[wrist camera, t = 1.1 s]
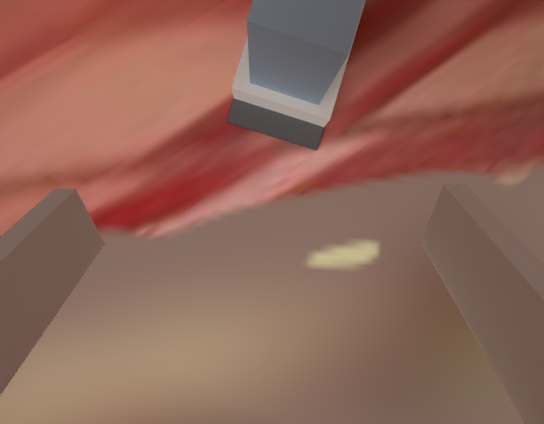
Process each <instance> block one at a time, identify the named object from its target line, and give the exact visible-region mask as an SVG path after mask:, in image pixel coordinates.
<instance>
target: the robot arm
mask: <svg viewBox="0 0 544 424" xmlns="http://www.w3.org/2000/svg"><path fill="white" fill-rule="evenodd" d="M104 244H105V243H104V242H103V240H102V238H101V236H100V234H99V232H98V230H97V228H96V226H95V225H94V223H93V221H92V219H91V217H90V215H89V213H88V211H87V209H86V207H85V206H84V204H83V202H82V200H81V198H80V196H79V194H78V192H77V190H76V189H54V190H53V191H52V192H51V193H50V194H49V195H47V196H46V197H45V198H44V199H43V200H42V201H41V202H39V203H38V204H37V205H36V206H35V207H34V208H33V209H31V210H30V211H29V212H28V213H27V214H26V215H25V216H24V217H22V218H21V219H20V220H19V221H18V222H17V223H16V224H14V225H13V226H12V227H11V228H10V229H9V230H8V231H6V232H5V233H4V234H3V235H2V236H1V237H0V395H1V394H2V392H3V391H4V389H5V388H6V386H7V385H8V383H9V382H10V381H11V379H12V378H13V376H14V375H15V373H16V372H17V371H18V369H19V368H20V366H21V365H22V363H23V362H24V360H25V359H26V357H27V356H28V355H29V353H30V351H31V350H32V349H33V347H34V346H35V344H36V343H37V341H38V340H39V338H40V337H41V336H42V334H43V333H44V331H45V330H46V328H47V326H48V325H49V324H50V323H51V321H52V320H53V318H54V317H55V315H56V314H57V312H58V311H59V309H60V308H61V306H62V305H63V304H64V302H65V301H66V299H67V298H68V296H69V295H70V293H71V292H72V290H73V289H74V288H75V286H76V285H77V283H78V282H79V280H80V279H81V278H82V276H83V275H84V273H85V272H86V270H87V268H88V267H89V265H90V264H91V263H92V261H93V260H94V258H95V257H96V255H97V254H98V253H99V251H100V250H101V248H102V247H103V246H104ZM421 244H422V246H423V248H424V249H425V251H426V253H427V255H428V256H429V258H430V260H431V261H432V263H433V265H434V267H435V268H436V270H437V272H438V274H439V275H440V277H441V279H442V281H443V282H444V284H445V286H446V287H447V289H448V291H449V293H450V295H451V296H452V298H453V300H454V301H455V303H456V305H457V307H458V308H459V310H460V312H461V314H462V315H463V317H464V319H465V321H466V322H467V324H468V326H469V328H470V329H471V331H472V332H473V334H474V336H475V338H476V340H477V341H478V343H479V345H480V347H481V348H482V350H483V352H484V354H485V355H486V357H487V359H488V361H489V362H490V364H491V366H492V367H493V369H494V371H495V373H496V374H497V376H498V378H499V380H500V381H501V383H502V385H503V387H504V388H505V390H506V392H507V393H508V395H509V397H510V399H511V401H512V402H513V404H514V406H515V408H516V409H517V411H518V413H519V414H520V416H521V418H522V420H523V421H524V423H525V424H544V263H543V262H542V261H541V260H540V259H539V258H538V257H537V256H536V255H535V254H534V253H533V252H532V251H531V250H530V249H529V248H528V247H527V246H526V245H525V244H524V243H523V242H522V241H521V240H520V239H519V238H518V237H517V236H516V235H515V234H514V233H513V232H512V231H511V230H510V229H509V228H508V227H507V226H506V225H505V224H504V223H503V222H502V221H501V220H500V219H499V218H498V217H497V216H496V215H495V214H494V213H493V212H492V211H491V210H490V209H489V207H487V205H485V204H484V203H483V201H482V200H480V198H479V197H478V196H477V195H476V194H475V193H474V192H473V191H472V190H471V189H470V188H469V187H468V186H467V185H443V188H442V190H441V193H440V195H439V198H438V200H437V203H436V205H435V207H434V210H433V212H432V215H431V217H430V220H429V222H428V225H427V227H426V229H425V232H424V234H423V237H422V239H421Z"/></svg>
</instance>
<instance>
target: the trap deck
mask: <svg viewBox="0 0 544 424" xmlns="http://www.w3.org/2000/svg"><path fill="white" fill-rule="evenodd" d="M365 1H366V0H365ZM364 5H365V2H364ZM364 5H363V8H364ZM363 8H362V11H363ZM361 15H362V12H361ZM361 15H360V18H361ZM360 18H359V21H360ZM358 25H359V22H358ZM358 25H357V28H358ZM357 28H356V31H357ZM355 35H356V32H355ZM355 35H354V38H355ZM354 38H353V41H354ZM352 45H353V42H352ZM352 45H351V48H352ZM351 48H350V51H351ZM349 55H350V52H349ZM349 55H348V57H347V59H346V60H345V62H344V64H343V65H342V67H341V69H340V70H339V72H338V74H337V75H336V77H335V79H334V80H333V82H332V84H331V85H330V87H329V89H328V90H327V92H326V94H325V95H324V97H323V99H322V100H321V102H320V104H319V105H316V104H313V103H310V102H307V101H304V100H301V99H298V98H294V97H291V96H288V95H285V94H282V93H279V92H276V91H273V90H270V89H267V88H264V87H261V86H258V85H255V84H252V83H250V76H249V55H248V36H247V40H246V43H245V46H244V49H243V53H242V56H241V59H240V63H239V66H238V69H237V73H236V76H235V79H234V82H233V86H232V91H233V96H234V99H233V103H232V106H231V109H230V112H229V116H228V119H227V122H228V123H231V124H234V125H237V126H240V127H244V128H247V129H250V130H253V131H256V132H259V133H263V134H266V135H269V136H272V137H275V138H278V139H281V140H285V141H288V142H291V143H294V144H297V145H300V146H304V147H307V148H310V149H313V150H317V149H318V145H319V142H320V139H321V135H322V132H323V129H324V127H325V125H326V124H327V123H328V122H329V120H330V118H331V115H332V112H333V108H334V105H335V102H336V98H337V95H338V91H339V88H340V85H341V81H342V78H343V75H344V71H345V68H346V65H347V61H348V58H349Z"/></svg>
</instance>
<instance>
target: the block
mask: <svg viewBox="0 0 544 424" xmlns="http://www.w3.org/2000/svg"><path fill="white" fill-rule="evenodd" d="M364 2H365V0H253V2H252V6H251V9H250V12H249V16H248V19H247V34H248V55H249V76H250V83H252V84H255V85H258V86H261V87H264V88H267V89H270V90H273V91H276V92H279V93H282V94H285V95H288V96H291V97H294V98H298V99H301V100H304V101H307V102H310V103H313V104H316V105H319V104H320V102H321V100H322V99H323V97H324V95H325V94H326V92H327V90H328V89H329V87H330V85H331V84H332V82H333V80H334V79H335V77H336V75H337V74H338V72H339V70H340V69H341V67H342V65H343V64H344V62H345V60H346V59H347V57H348V55H349V52H350V48H351V45H352V42H353V38H354V35H355V32H356V28H357V25H358V22H359V18H360V15H361V12H362V8H363V5H364Z"/></svg>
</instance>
